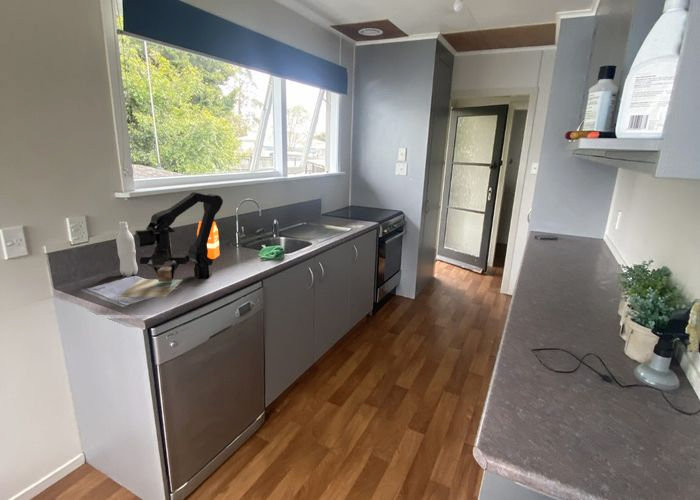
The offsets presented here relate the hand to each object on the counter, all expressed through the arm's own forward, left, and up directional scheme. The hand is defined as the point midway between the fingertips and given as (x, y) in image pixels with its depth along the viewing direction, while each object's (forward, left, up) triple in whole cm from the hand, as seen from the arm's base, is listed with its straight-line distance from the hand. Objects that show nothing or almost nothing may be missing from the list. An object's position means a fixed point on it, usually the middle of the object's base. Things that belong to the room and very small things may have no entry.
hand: (166, 278), depth 161 cm
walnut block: (0, 0, -1) cm, 1 cm away
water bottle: (+22, -14, -4) cm, 26 cm away
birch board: (+4, +5, -4) cm, 7 cm away
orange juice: (-6, -45, -4) cm, 46 cm away
